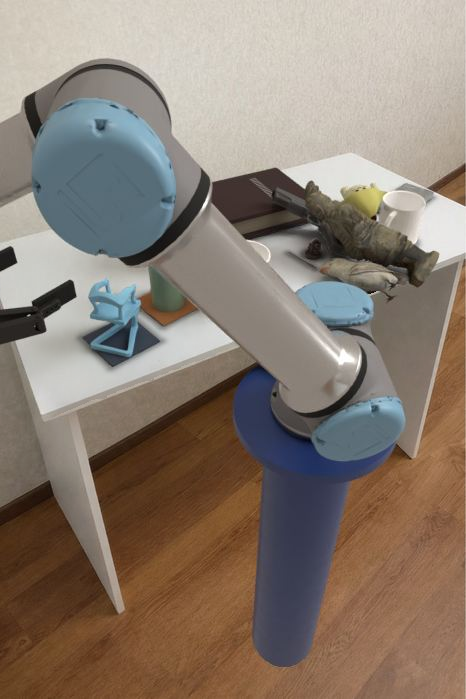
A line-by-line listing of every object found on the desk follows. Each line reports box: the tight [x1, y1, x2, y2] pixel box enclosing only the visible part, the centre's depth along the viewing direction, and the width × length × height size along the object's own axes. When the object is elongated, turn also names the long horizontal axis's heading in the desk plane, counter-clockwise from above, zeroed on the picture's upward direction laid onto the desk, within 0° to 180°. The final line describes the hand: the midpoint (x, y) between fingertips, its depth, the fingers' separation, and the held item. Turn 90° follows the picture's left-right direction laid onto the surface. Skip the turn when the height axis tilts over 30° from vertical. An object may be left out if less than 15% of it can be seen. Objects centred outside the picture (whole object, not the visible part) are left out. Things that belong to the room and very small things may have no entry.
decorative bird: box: [318, 257, 409, 305], centre depth 117 cm, size 5×16×7 cm
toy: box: [339, 182, 389, 221], centre depth 137 cm, size 13×7×15 cm
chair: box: [87, 277, 141, 358], centre depth 102 cm, size 8×8×12 cm
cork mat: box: [135, 291, 199, 327], centre depth 114 cm, size 10×10×1 cm
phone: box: [377, 182, 435, 214], centre depth 144 cm, size 8×16×1 cm, turn 140°
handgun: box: [271, 187, 348, 258], centre depth 127 cm, size 3×19×12 cm
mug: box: [377, 190, 427, 245], centre depth 128 cm, size 12×9×9 cm
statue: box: [304, 180, 440, 288], centre depth 119 cm, size 11×9×30 cm
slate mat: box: [82, 318, 161, 367], centre depth 106 cm, size 10×10×1 cm
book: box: [211, 167, 310, 240], centre depth 137 cm, size 28×20×6 cm
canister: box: [147, 266, 185, 312], centre depth 111 cm, size 6×6×10 cm
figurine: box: [288, 237, 323, 269], centre depth 125 cm, size 5×8×4 cm
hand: (42, 270), depth 85 cm, fingers open, 13 cm apart
